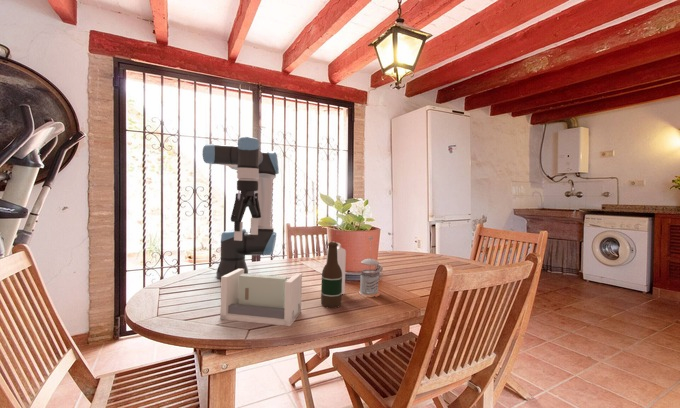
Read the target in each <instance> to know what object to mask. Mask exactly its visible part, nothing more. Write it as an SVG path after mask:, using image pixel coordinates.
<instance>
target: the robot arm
mask: <svg viewBox="0 0 680 408" xmlns="http://www.w3.org/2000/svg"><path fill="white" fill-rule="evenodd" d="M202 159H203V162H204V163H205V164H208V165H209V164H211V165H221V166H227V167H229V168H230V169H232V170H236V177H237V179H238V180H237V181H236V190H237V191H239V192H240V193H237V192H236V193H235V198H234V204H233V209H232V212H231V216H230V222H231V223H234V228H233V229H229V230H225V231H223V232H221V237H220V262H219V263H218V267H217V270H216V278H217V279H220V280H221V277H222V276H224V275H226V274H228V273H230V272H233V271H235V270H237V269H244V274H249V269H248V266H247V262H246V256H263V257H264V256H271V255H272V254H273V253H274V250H275V245H276V240H277V233H276V232H275V229H274V228H273V227H272V205H273V204H272V203H273V202H272V201H273V181H274V180H275V179H276V177H277V175H278V174H279V173H280V171H279V161H278V154H277V152H275V151H273V150H272V151H271V150H261V149H260V140H259V139H258V138H256V137H251V136H239V138H237V145H229V144H227V145H223V144H214V143H212V144H211V143H210V144H205V145H203V148H202ZM247 208H248V210H249V212H250V215H251V218H250V229H249V231H247V230H246V229H245V228H243V227H244V226H243V221H242V220H243V217H244V214H245V212H246V210H247Z"/></svg>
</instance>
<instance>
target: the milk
mask: <svg viewBox="0 0 680 408" xmlns="http://www.w3.org/2000/svg"><path fill="white" fill-rule="evenodd" d="M335 242H336V241H335ZM336 243H337V244H338V246H337V260H338V265H339V266H340V268H341V271H342V294H343V295H345V294H344V293H346V292H345V291H346V290H345V289H346V265H347V264H346V260H347V259H346V258H347V249H345V248H343V247H342V244H341V243H340V242H336ZM328 249H329V247H328V248H326V260H325V261H326V263H325V265H326V264H327V259H328Z"/></svg>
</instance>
